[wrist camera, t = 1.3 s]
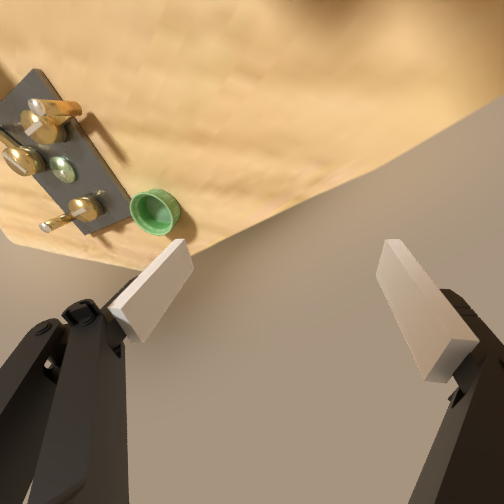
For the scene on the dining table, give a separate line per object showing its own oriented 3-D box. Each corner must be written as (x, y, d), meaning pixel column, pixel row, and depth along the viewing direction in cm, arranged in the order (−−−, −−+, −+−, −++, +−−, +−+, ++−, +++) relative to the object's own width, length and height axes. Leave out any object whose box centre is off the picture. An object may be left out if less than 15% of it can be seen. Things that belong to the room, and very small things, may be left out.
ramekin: (151, 225, 47) (138, 235, 44) (137, 185, 43) (122, 192, 39) (187, 227, 46) (177, 237, 42) (177, 186, 41) (165, 193, 37)
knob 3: (90, 191, 44) (61, 202, 38) (107, 213, 46) (81, 226, 40) (61, 207, 47) (31, 219, 42) (78, 226, 50) (51, 239, 44)
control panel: (-9, 119, 41) (-22, 120, 39) (40, 69, 34) (27, 67, 32) (88, 233, 52) (82, 236, 51) (139, 211, 46) (133, 215, 44)
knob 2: (56, 147, 39) (17, 152, 34) (33, 118, 37) (-12, 119, 32) (91, 122, 36) (53, 123, 30) (68, 88, 33) (23, 83, 28)
